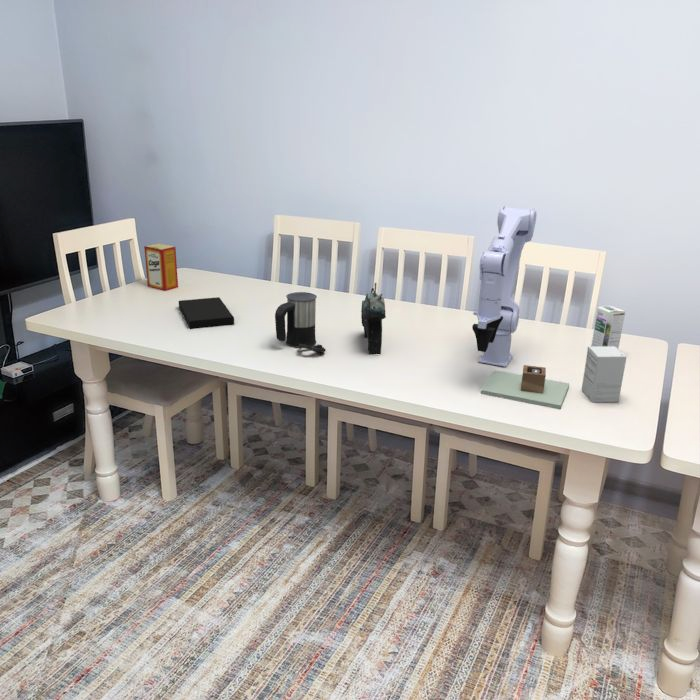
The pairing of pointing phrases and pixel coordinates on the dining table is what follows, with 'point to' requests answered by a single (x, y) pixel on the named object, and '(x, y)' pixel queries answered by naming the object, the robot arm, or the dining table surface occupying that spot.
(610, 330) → the syrup box
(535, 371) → the grey steel post
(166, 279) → the baking soda box
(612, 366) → the supplement box
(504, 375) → the sage board
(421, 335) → the dining table surface
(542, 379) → the walnut collar
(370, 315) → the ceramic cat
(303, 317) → the milk frother
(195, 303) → the external hard drive
